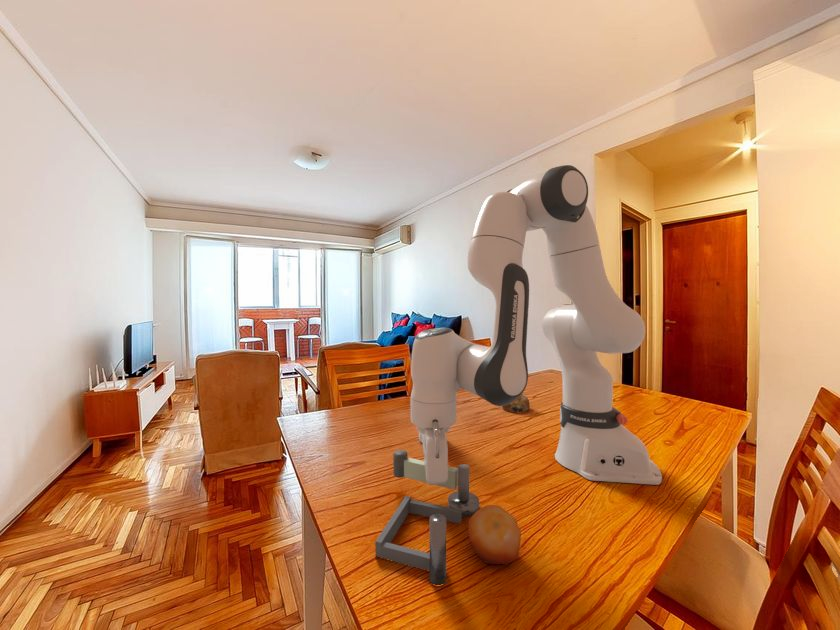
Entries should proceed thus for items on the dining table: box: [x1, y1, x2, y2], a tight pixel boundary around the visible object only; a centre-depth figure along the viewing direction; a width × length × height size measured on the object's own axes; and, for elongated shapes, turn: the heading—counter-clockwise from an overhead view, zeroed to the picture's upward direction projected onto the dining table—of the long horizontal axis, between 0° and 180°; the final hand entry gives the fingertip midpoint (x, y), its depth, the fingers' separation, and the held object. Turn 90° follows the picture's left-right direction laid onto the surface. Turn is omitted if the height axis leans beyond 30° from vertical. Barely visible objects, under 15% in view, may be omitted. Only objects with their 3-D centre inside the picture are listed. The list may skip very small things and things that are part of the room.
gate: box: [392, 449, 470, 502], centre depth 68 cm, size 3×17×6 cm, turn 64°
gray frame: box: [374, 495, 463, 572], centre depth 57 cm, size 11×13×2 cm
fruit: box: [468, 504, 522, 565], centre depth 53 cm, size 8×8×8 cm
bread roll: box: [501, 393, 530, 413], centre depth 125 cm, size 10×10×8 cm
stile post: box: [429, 514, 447, 585], centre depth 48 cm, size 2×2×9 cm
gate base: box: [447, 490, 480, 518], centre depth 65 cm, size 6×6×2 cm
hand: (432, 482), depth 65 cm, fingers closed
